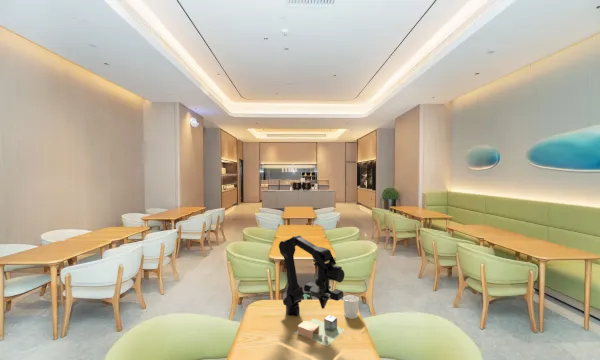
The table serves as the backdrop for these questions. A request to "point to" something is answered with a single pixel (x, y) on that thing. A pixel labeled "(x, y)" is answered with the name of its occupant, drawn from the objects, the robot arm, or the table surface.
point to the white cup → (351, 306)
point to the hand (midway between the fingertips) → (323, 308)
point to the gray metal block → (330, 323)
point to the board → (324, 333)
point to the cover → (308, 329)
